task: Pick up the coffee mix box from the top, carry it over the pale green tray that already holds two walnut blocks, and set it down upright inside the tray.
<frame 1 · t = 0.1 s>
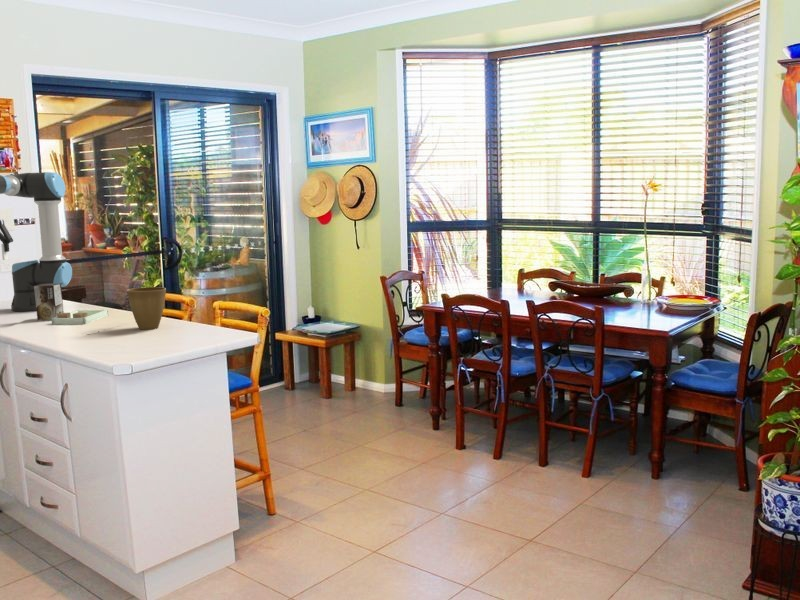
coffee box: (51, 321, 328), on the table
walnut block a: (64, 322, 316), point 1 cm above the table, touching tray
walnut block b: (80, 322, 316), point 1 cm above the table, touching tray
plant pot: (149, 328, 306), on the table
tray: (81, 322, 324), on the table
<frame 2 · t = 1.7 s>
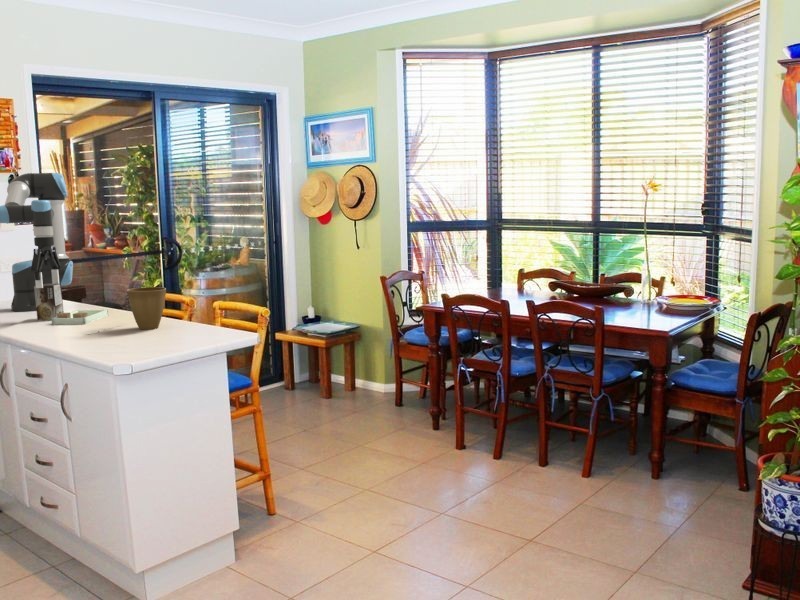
hand: (47, 286, 325), 15 cm above the table, tool pointing down, fingers open, 13 cm apart
nothing on the table moved.
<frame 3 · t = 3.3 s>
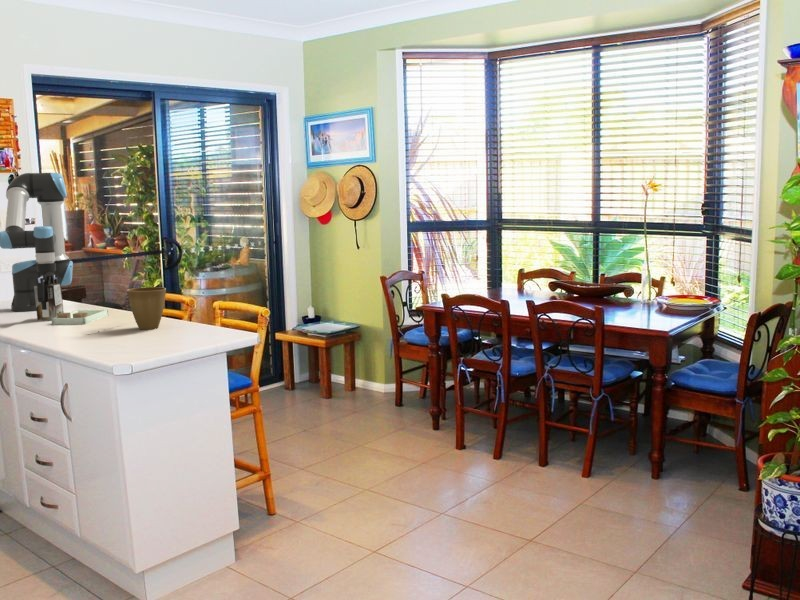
hand: (50, 315, 327), 2 cm above the table, tool pointing down, fingers closed on coffee box, 6 cm apart
coffee box: (51, 321, 328), on the table, touching gripper
everything else where it was.
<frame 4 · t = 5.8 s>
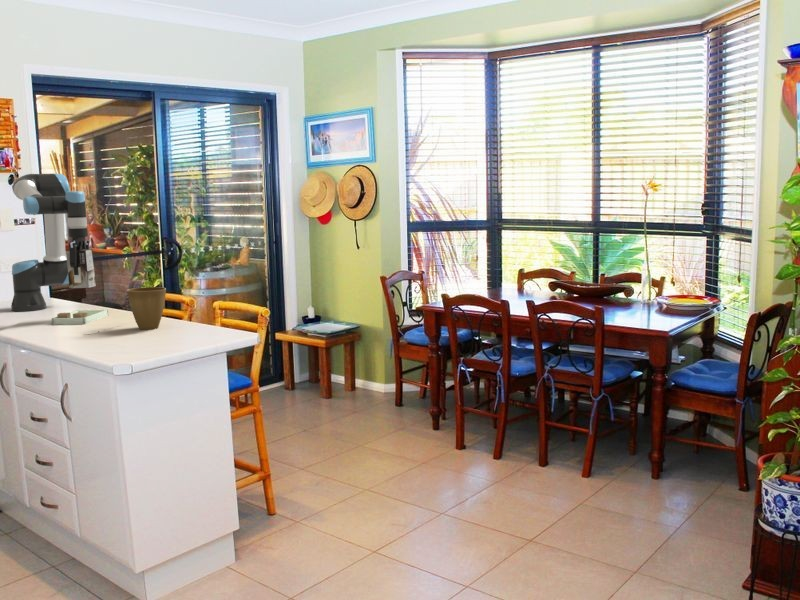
hand: (82, 281, 325), 17 cm above the table, tool pointing down, fingers closed on coffee box, 6 cm apart
coffee box: (82, 287, 325), point 14 cm above the table, touching gripper
everything else where it was.
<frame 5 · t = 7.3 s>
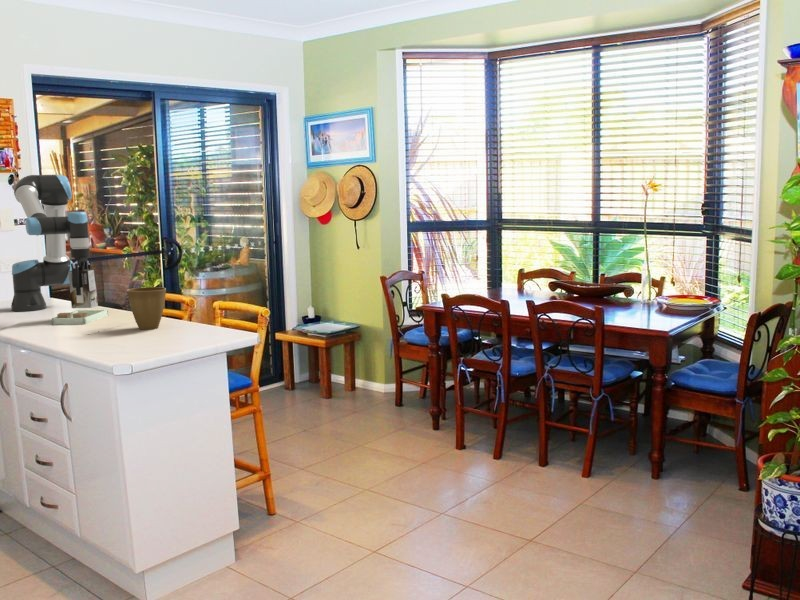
hand: (84, 301, 326), 8 cm above the table, tool pointing down, fingers closed on coffee box, 6 cm apart
coffee box: (84, 307, 327), point 6 cm above the table, touching gripper
everything else where it was.
when the fingers open (5 cm above the table, at t = 8.3 s): coffee box drops 1 cm, resting on tray.
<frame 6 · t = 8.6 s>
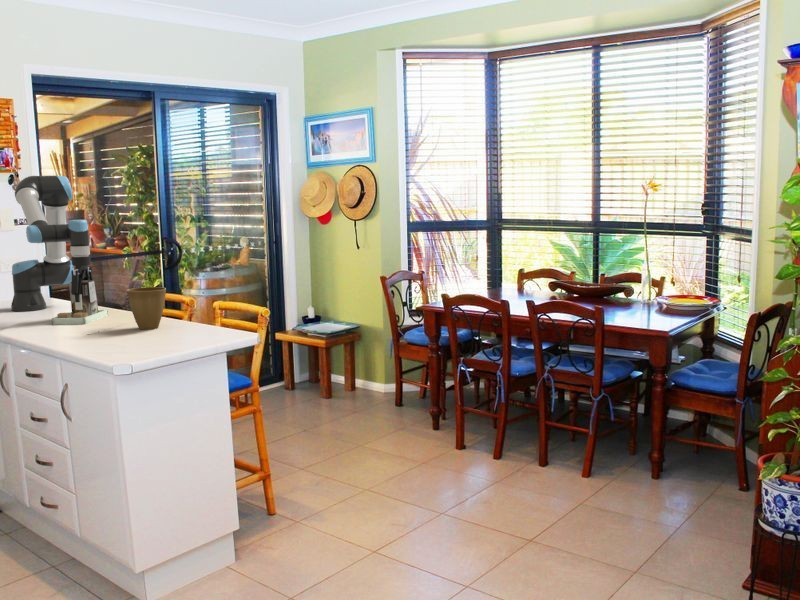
hand: (84, 307, 327), 6 cm above the table, tool pointing down, fingers open, 9 cm apart
coffee box: (85, 318, 328), point 1 cm above the table, touching tray
everything else where it was.
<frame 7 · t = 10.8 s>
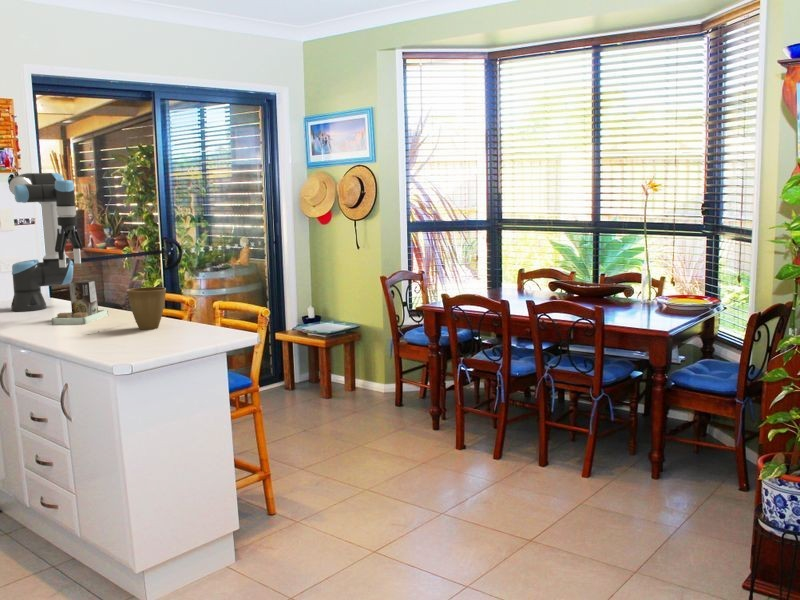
hand: (70, 265, 329), 24 cm above the table, tool pointing down, fingers open, 13 cm apart
nothing on the table moved.
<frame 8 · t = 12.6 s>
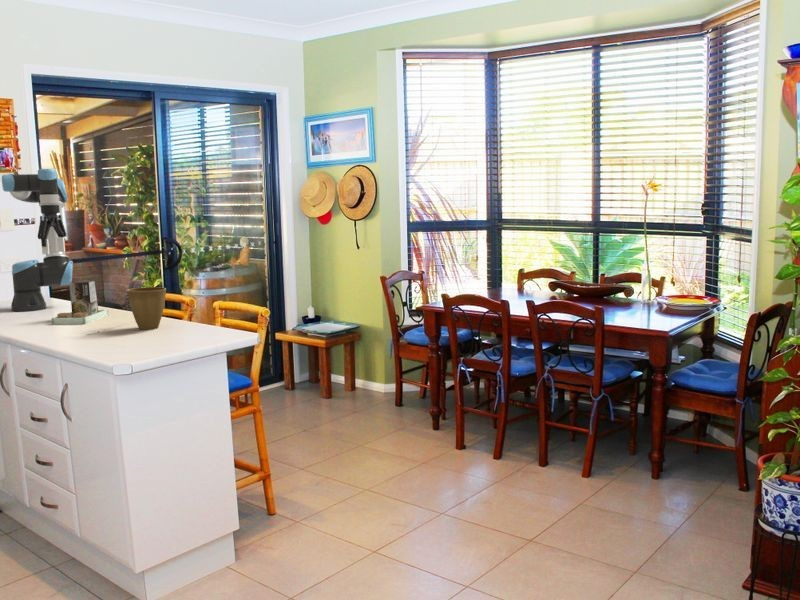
hand: (53, 253, 335), 29 cm above the table, tool pointing down, fingers open, 13 cm apart
nothing on the table moved.
at the end: coffee box inside the target area on the tray (4.1 cm from its centre), point 0.8 cm above the tray's base; coffee box tilted 0°; the gripper is holding nothing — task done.
